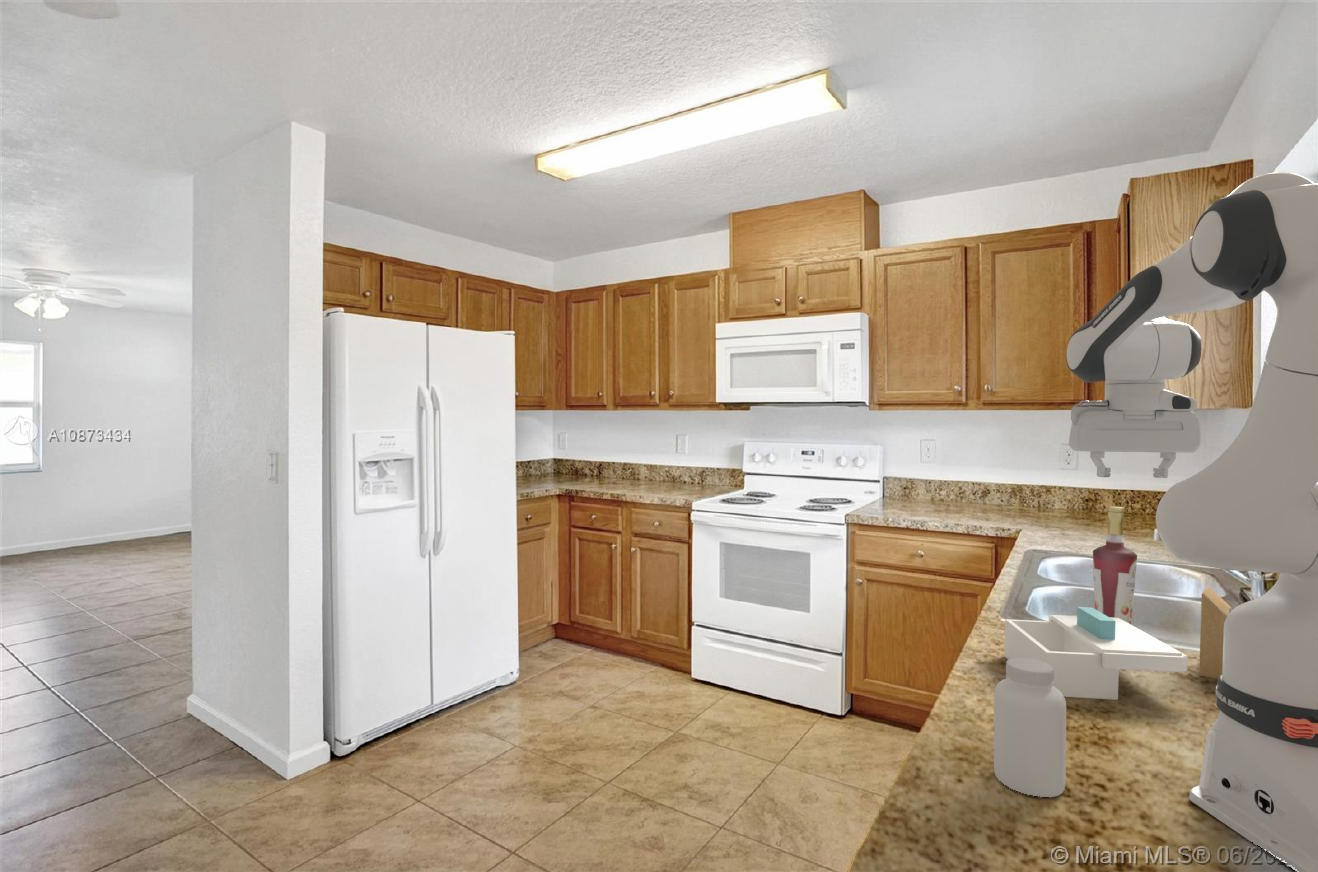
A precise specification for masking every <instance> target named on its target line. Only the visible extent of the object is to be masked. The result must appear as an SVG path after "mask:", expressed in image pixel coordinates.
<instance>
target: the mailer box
mask: <svg viewBox="0 0 1318 872" xmlns="http://www.w3.org/2000/svg"><path fill="white" fill-rule="evenodd" d="M1004 658H1005V659H1006V660H1009V659H1012V658H1029V659H1035V660H1039V661H1042V662H1045V663H1047V664H1049V665H1051V666H1052V667H1053V668H1054V685H1053V686H1054V687H1055V688H1057V689H1058V690H1059V691H1060V692H1061V693H1062V694H1063V696H1064V698H1065V697H1066V698H1080V699H1095V700H1097V699H1098V700H1117V701H1118V700H1119V678H1120V677H1119V675H1120V674H1119V673H1120V672H1119V671H1120V669H1108V668H1103V667H1102V654H1101V653H1100V652H1098V651H1097V650H1095V649H1094V648H1092V647H1091V646H1089V645H1088V644H1086V643H1085V642H1083V641H1082V640H1081V639H1079V638H1078V637H1076V636H1075V635H1073V634H1072V633H1070V632H1069V631H1067V630H1066V629H1065V628H1063V627H1062V626H1060V625H1059V624H1057V623H1056V622H1054V621H1049V620H1032V619H1031V620H1030V619H1029V620H1028V619H1007V618H1005V624H1004Z"/></svg>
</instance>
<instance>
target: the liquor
mask: <svg viewBox="0 0 1318 872" xmlns="http://www.w3.org/2000/svg"><path fill="white" fill-rule="evenodd" d="M1124 517H1125V508H1124V507H1122V506H1113V505H1111V506H1110V505H1109V506H1107V519H1108V528H1107V534H1106V541H1105V545H1101V546H1098V547H1096V548H1095V549H1094V550H1092V570H1093V572H1092V573H1093V594H1094V597H1093V599H1094V609H1095V610H1097V611H1099V612H1101V613H1102V614H1104V615H1106V616H1108V617H1113V618H1119V619H1121V620H1123V621H1125V622H1127V623H1129V624H1131V625H1132V622H1133V607H1134V598H1135V596H1134V595H1135V588H1136V580H1137V579H1136V578H1137V577H1136V576H1137V563H1138V554H1137V553H1135V552H1134V551H1133V550H1132V549H1130V548H1128V547H1125V541H1124V540H1125V539H1124V530H1123V529H1124V527H1123V521H1124Z"/></svg>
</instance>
